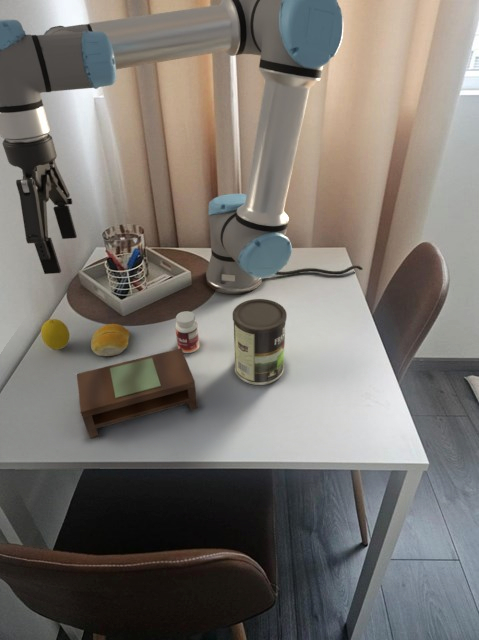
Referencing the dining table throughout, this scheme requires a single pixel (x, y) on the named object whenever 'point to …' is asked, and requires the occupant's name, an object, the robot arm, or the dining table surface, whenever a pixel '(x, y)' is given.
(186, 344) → the pill bottle
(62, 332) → the lemon
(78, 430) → the dining table surface
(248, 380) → the coffee can
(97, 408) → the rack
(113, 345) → the bread roll
